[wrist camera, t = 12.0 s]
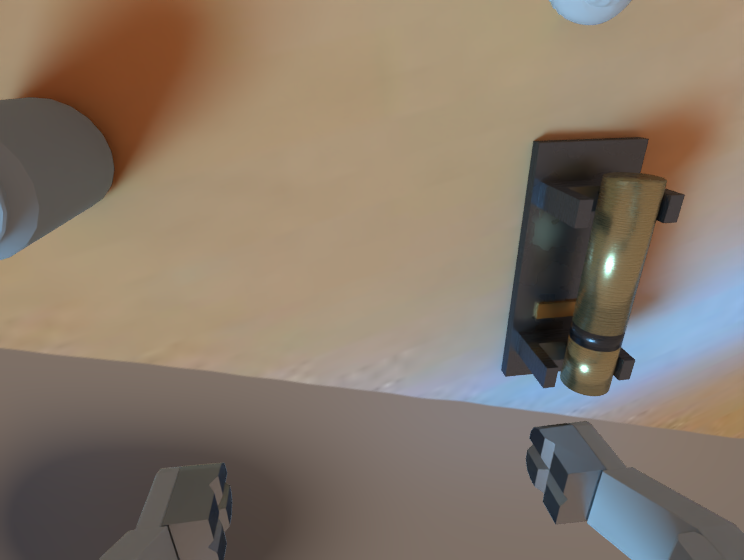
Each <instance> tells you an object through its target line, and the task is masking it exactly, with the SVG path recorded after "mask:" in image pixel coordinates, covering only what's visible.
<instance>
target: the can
mask: <svg viewBox="0 0 744 560" xmlns="http://www.w3.org/2000/svg"><path fill="white" fill-rule="evenodd" d="M113 175H114V164H113V158H112V152H111V150H110V148H109V146H108V144H107V142H106V140H105V138H104V136H103V134H102V133H101V132H100V131H99V130H98V129H97V127H96V126H95V125H94V124H93V123H92V122H91V121H90V119H89V118H87V117H86V116H84V115H83V114H81V113H80V112H78V111H77V110H75V109H74V108H73V107H71V106H69V105H66V104H63V103H60V102H58V101H55V100H52V99H46V98H32V97H29V98H18V99H6V100H0V260H2V259H6V258H9V257H11V256H13V255H14V254H16V253H17V252H19V251H21V250H22V249H24V248H25V247H27V246H29V245H30V244H32V243H34V242H35V241H37V240H38V239H40V238H42V237H43V236H45V235H46V234H48V233H50V232H51V231H53V230H55V229H56V228H58V227H59V226H61V225H63V224H64V223H66V222H67V221H69V220H71V219H72V218H74V217H75V216H77V215H79V214H80V213H82V212H84V211H85V210H87V209H88V208H90V207H92V206H93V205H94V204H96V203H97V202H99V201H100V200H101V199H103V198H104V196H105V195H106V193H107V192H108V190H109V188H110V187H111V185H112V180H113Z"/></svg>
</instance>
